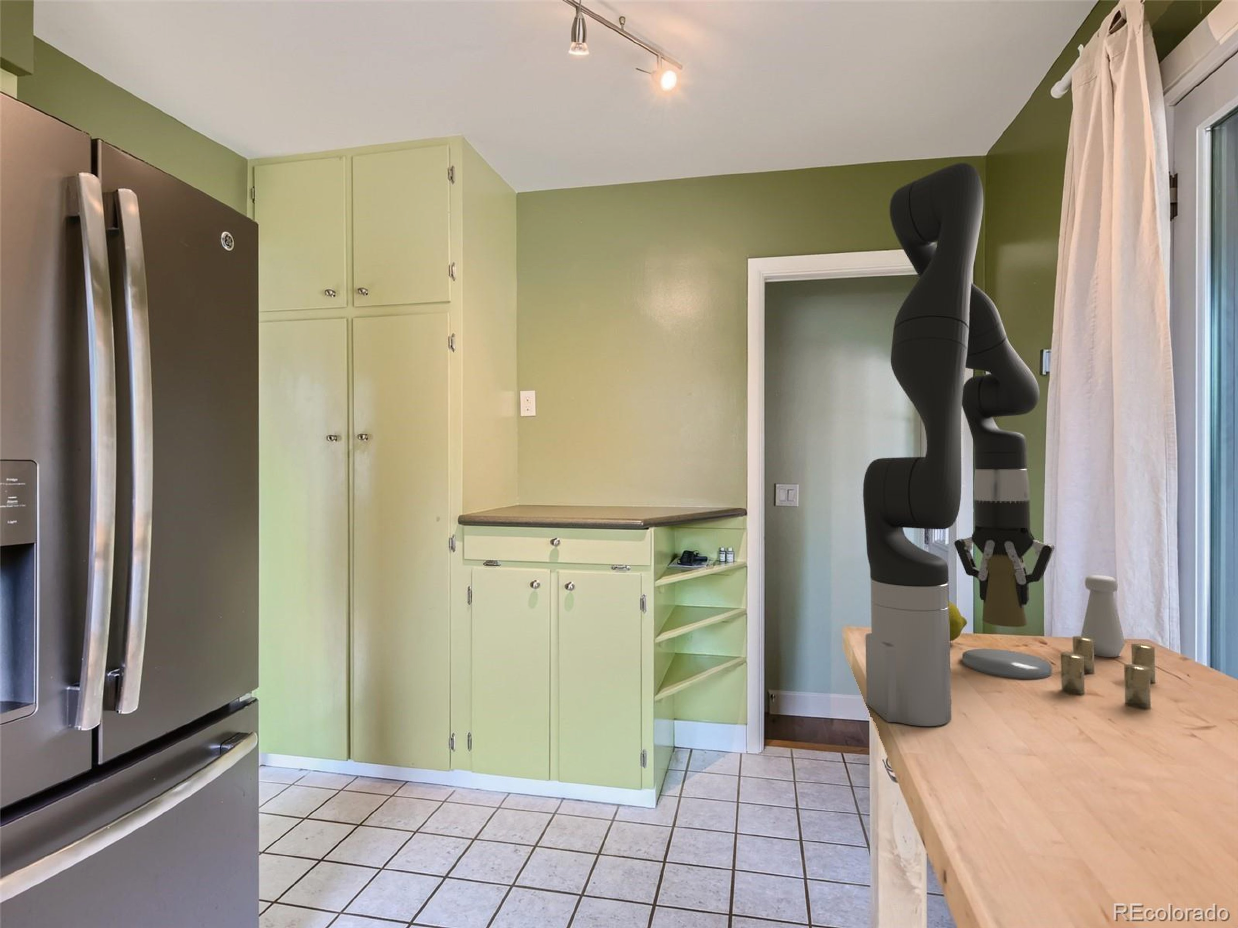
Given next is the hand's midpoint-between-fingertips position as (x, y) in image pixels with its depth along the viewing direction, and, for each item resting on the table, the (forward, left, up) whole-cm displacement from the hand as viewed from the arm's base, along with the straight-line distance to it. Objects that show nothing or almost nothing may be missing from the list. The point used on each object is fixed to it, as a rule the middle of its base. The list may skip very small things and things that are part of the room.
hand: (1003, 604), depth 97 cm
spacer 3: (+16, -8, -10) cm, 20 cm away
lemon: (-4, +14, -10) cm, 17 cm away
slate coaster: (0, 0, -10) cm, 10 cm away
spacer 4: (+7, -17, -10) cm, 20 cm away
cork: (0, 0, -3) cm, 3 cm away
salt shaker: (+20, +5, -10) cm, 23 cm away
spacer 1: (+2, -11, -10) cm, 15 cm away
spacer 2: (+10, -3, -10) cm, 14 cm away
